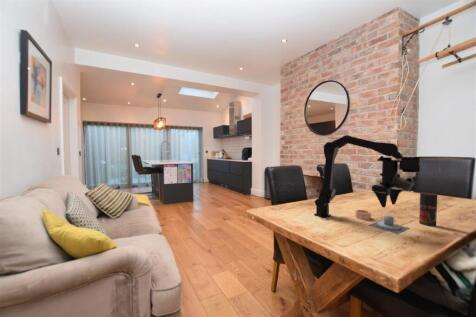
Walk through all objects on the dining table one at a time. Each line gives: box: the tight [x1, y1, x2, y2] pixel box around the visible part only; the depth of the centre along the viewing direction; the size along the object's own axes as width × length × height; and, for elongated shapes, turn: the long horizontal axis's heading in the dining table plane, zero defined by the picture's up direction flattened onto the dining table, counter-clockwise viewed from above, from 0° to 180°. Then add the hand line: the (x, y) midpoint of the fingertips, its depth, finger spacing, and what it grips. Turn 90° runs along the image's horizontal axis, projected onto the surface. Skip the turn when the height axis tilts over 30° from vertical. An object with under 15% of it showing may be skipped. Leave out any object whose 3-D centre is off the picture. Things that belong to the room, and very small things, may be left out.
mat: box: [367, 220, 411, 235], centre depth 96 cm, size 12×12×1 cm
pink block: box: [354, 209, 372, 221], centre depth 109 cm, size 6×6×4 cm
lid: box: [376, 215, 401, 230], centre depth 96 cm, size 8×8×4 cm
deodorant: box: [418, 192, 438, 227], centre depth 99 cm, size 6×6×15 cm
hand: (388, 205), depth 96 cm, fingers open, 9 cm apart
